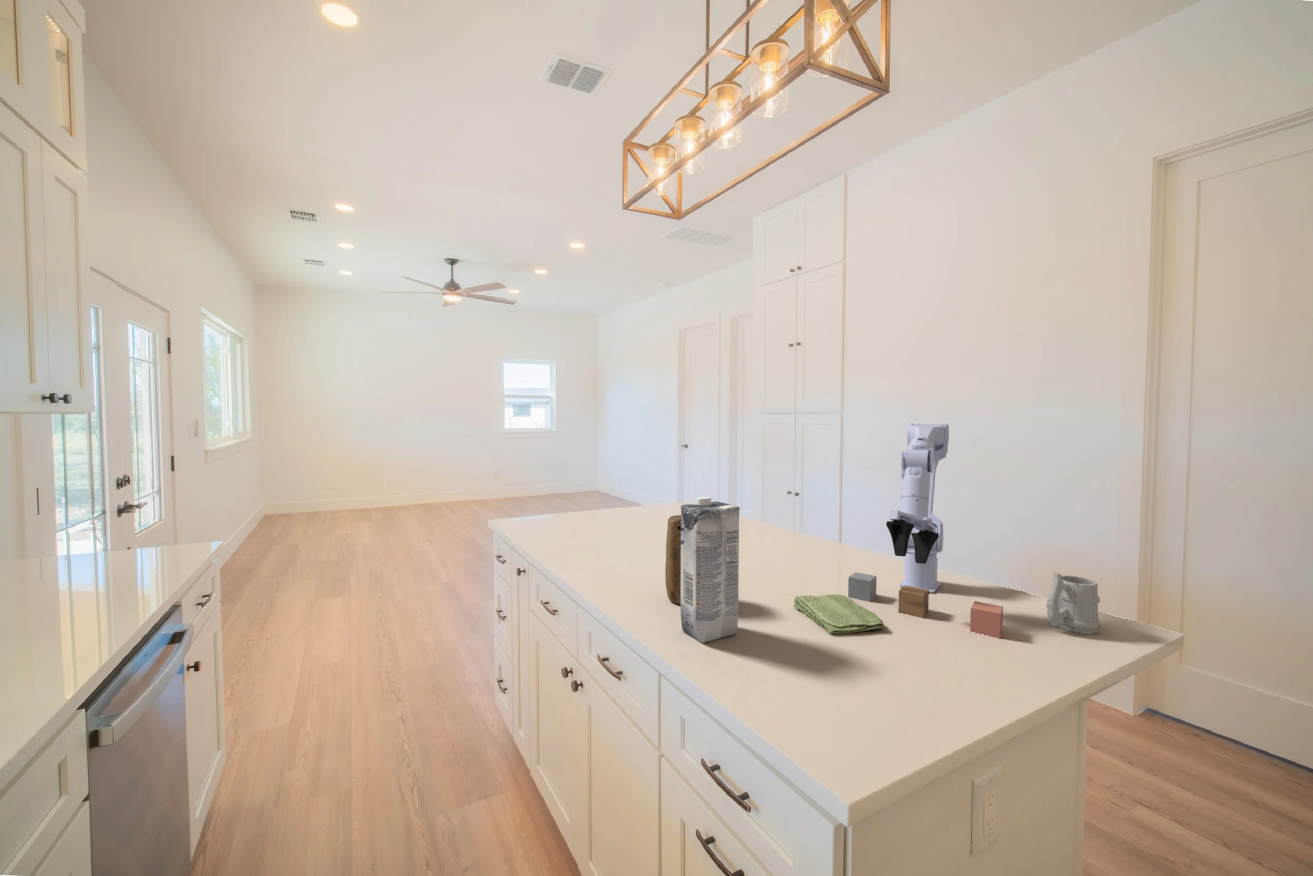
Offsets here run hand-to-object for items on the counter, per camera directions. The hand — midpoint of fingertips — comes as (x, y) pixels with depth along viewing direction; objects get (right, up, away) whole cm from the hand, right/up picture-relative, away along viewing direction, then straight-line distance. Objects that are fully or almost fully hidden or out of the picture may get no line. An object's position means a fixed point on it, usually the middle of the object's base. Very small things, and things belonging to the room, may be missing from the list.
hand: (910, 559), depth 116 cm
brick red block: (+11, -12, -10) cm, 19 cm away
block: (-48, -12, +8) cm, 50 cm away
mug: (+28, -12, -8) cm, 32 cm away
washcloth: (-17, -13, -3) cm, 21 cm away
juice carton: (-45, -12, -11) cm, 48 cm away
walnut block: (+1, -12, +1) cm, 12 cm away
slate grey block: (-6, -11, +11) cm, 17 cm away
